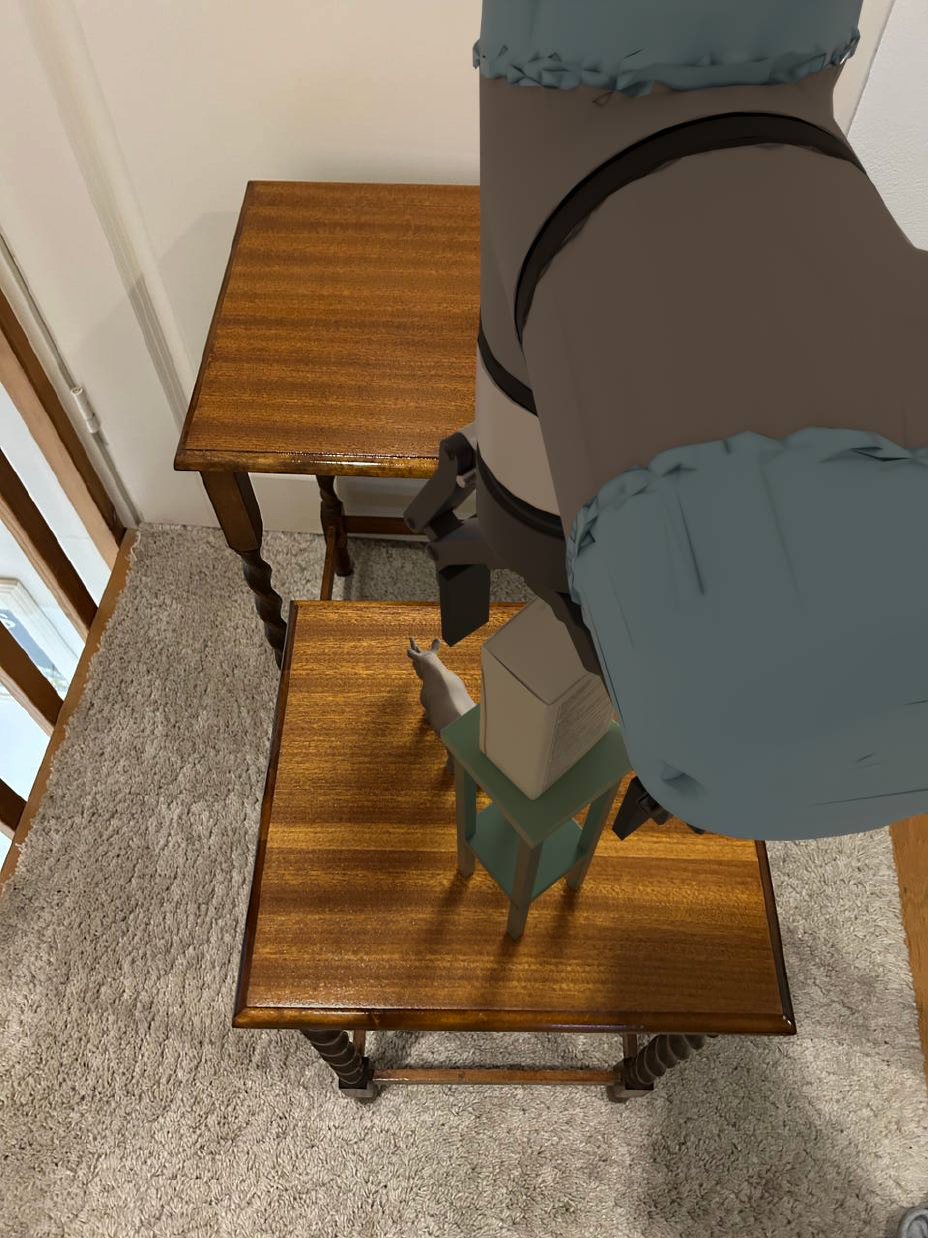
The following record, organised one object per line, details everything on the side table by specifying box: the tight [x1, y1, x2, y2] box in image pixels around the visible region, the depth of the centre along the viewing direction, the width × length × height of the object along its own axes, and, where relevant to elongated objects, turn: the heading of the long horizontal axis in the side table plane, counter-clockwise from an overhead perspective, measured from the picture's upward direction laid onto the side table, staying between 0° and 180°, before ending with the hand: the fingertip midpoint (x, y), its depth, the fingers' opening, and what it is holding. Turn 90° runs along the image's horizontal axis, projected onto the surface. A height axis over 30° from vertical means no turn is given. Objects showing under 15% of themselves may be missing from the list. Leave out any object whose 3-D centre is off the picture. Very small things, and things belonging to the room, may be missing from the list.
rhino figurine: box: [406, 635, 477, 774], centre depth 78 cm, size 4×14×6 cm, turn 25°
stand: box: [453, 756, 624, 941], centre depth 62 cm, size 7×7×25 cm
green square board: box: [440, 702, 634, 849], centre depth 52 cm, size 8×8×1 cm
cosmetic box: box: [479, 595, 615, 800], centre depth 46 cm, size 6×4×12 cm
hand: (546, 719), depth 48 cm, fingers open, 13 cm apart
